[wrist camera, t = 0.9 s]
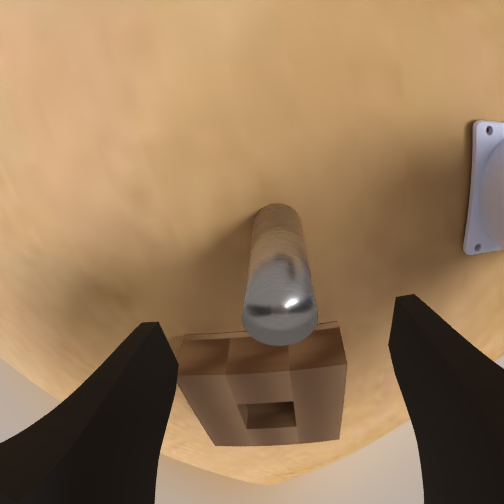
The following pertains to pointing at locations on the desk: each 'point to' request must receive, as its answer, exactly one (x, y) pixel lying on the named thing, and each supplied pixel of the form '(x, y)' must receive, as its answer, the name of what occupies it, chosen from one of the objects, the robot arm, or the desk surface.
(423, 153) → the desk surface
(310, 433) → the bore block
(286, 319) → the pin
